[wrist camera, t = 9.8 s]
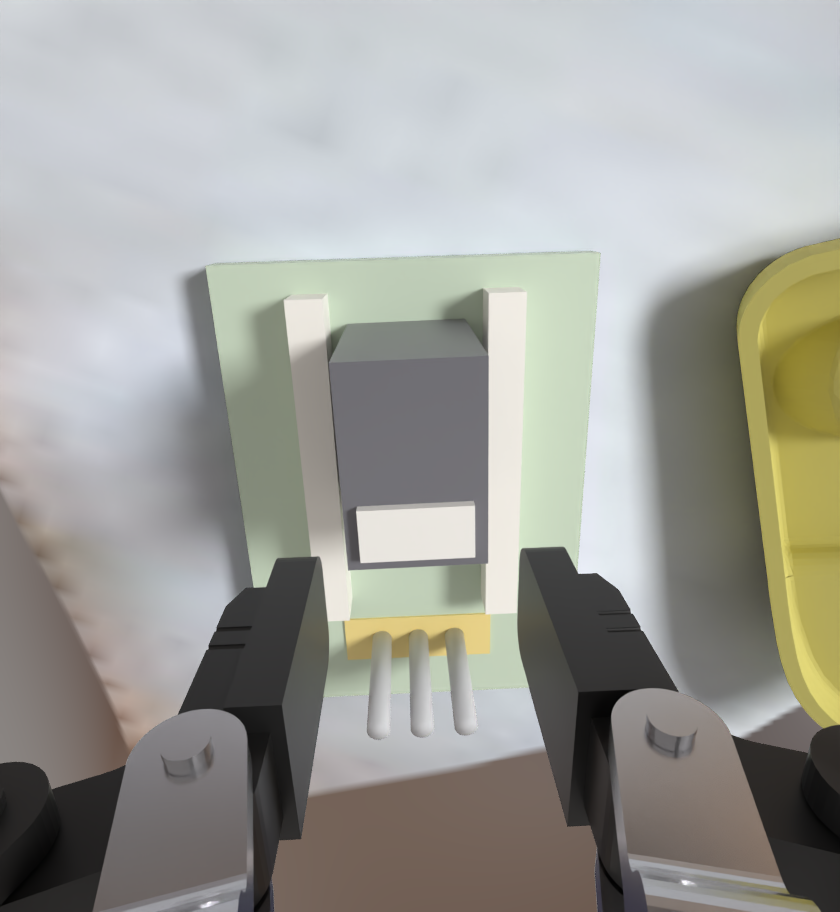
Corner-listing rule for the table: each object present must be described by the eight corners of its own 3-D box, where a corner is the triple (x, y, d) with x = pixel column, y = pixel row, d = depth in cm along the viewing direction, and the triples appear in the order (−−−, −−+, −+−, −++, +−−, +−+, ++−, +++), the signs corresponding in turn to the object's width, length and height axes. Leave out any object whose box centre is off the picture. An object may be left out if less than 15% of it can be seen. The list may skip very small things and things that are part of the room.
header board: (215, 263, 21) (147, 281, 15) (589, 251, 21) (660, 263, 16) (275, 680, 28) (243, 801, 22) (562, 666, 28) (604, 784, 22)
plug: (347, 323, 21) (327, 365, 15) (464, 318, 21) (490, 358, 15) (360, 484, 23) (347, 576, 17) (466, 479, 23) (489, 569, 17)
